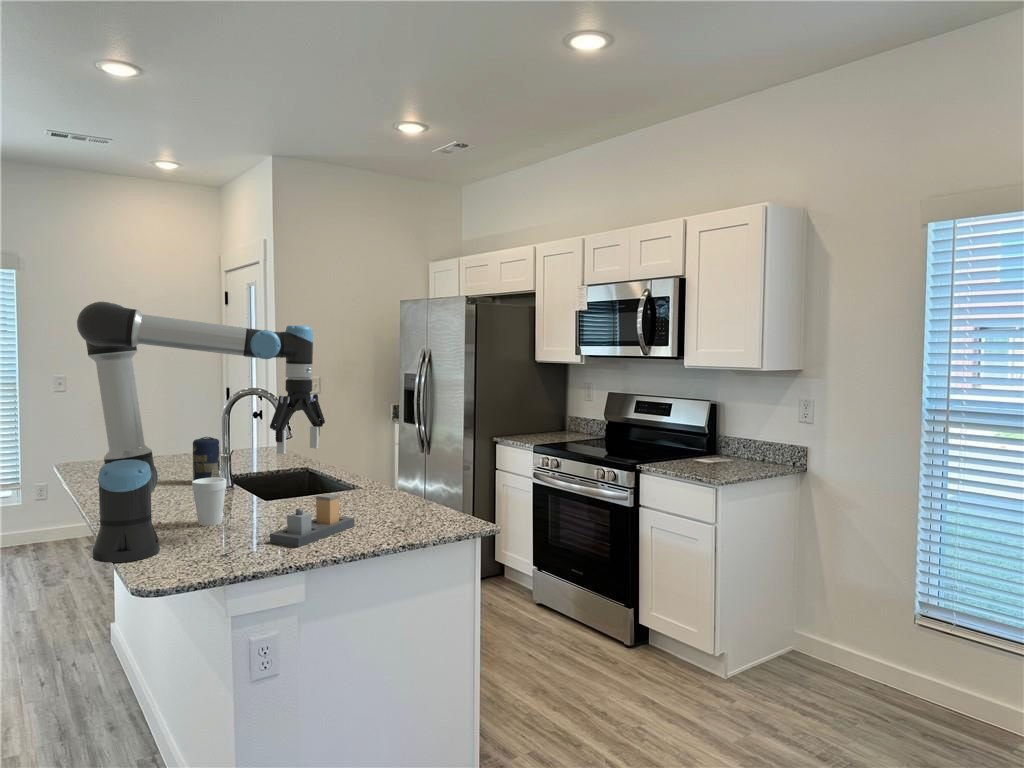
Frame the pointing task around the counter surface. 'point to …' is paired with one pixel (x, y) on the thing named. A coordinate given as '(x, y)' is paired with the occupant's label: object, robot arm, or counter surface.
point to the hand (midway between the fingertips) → (298, 450)
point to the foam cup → (209, 500)
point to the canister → (206, 458)
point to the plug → (327, 509)
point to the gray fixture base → (307, 529)
